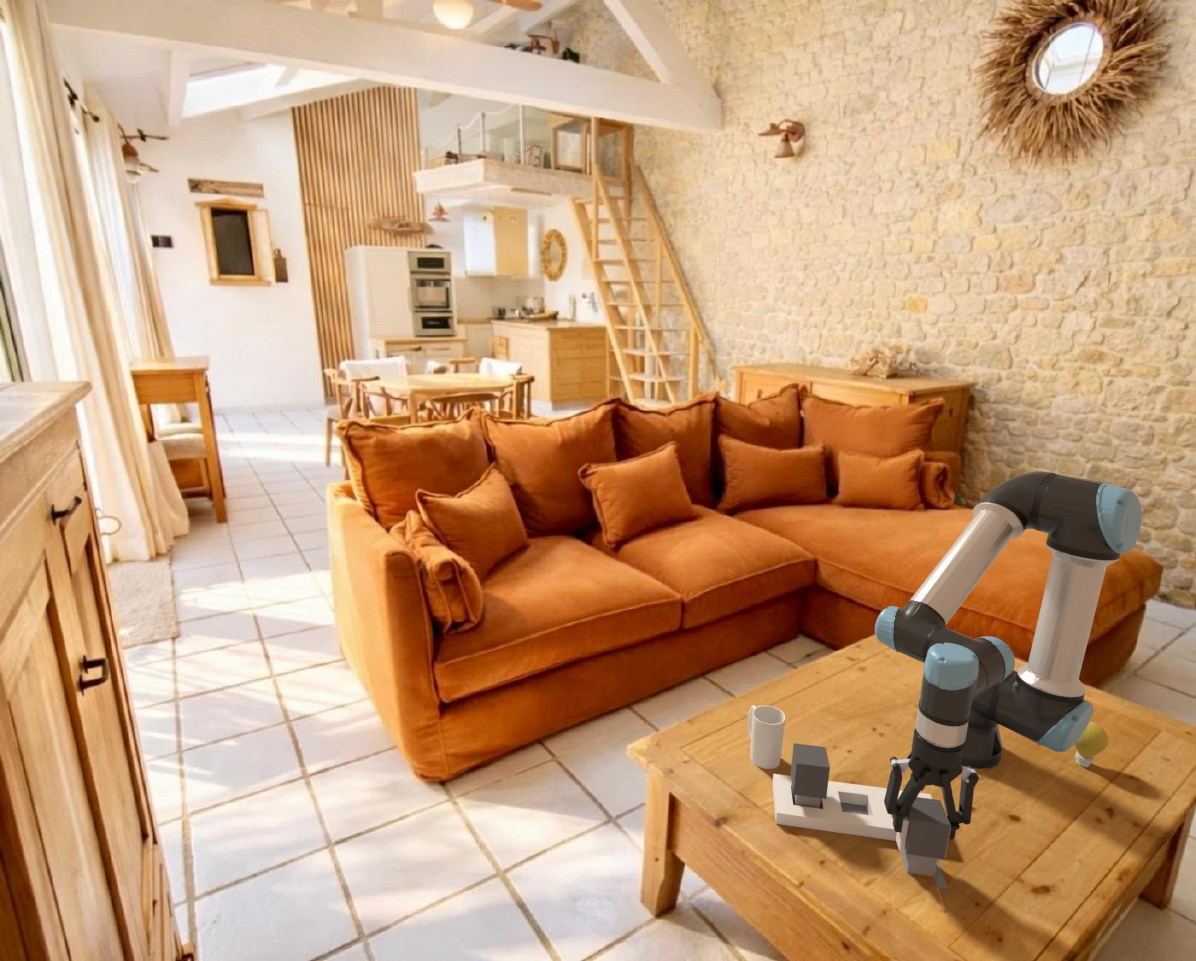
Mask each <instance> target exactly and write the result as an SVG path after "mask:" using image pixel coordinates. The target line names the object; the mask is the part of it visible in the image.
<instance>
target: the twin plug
mask: <svg viewBox="0 0 1196 961" xmlns="http://www.w3.org/2000/svg"><path fill="white" fill-rule="evenodd" d="M828 757H829V756H828V753H827V747H826V746H819V745H811V744H801V743H793V748H792V757H791V765H790V766H791V767H790V776H791V780H792V788H793V802H794V805H797V806H804V807H811V808H819V809H820V801H821V798H822V799H826V796H827V788H828V781H830V770H831V765H830V761H829V758H828Z"/></svg>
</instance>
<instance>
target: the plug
mask: <svg viewBox="0 0 1196 961" xmlns="http://www.w3.org/2000/svg"><path fill="white" fill-rule="evenodd" d="M907 817H908V820H909V823H908V830H907V836H906V842H905V849H904V852H900V854H901V856H902V859H903V863H904V864H903V865H904V866H905V870H906V873H907V874H910V875H919V876H925V877H930V878H931V877H932V878H933V879H934V876H935V870H936V865H937V860H946V857H945V854H946V855H947V851H946V849H947V850H948V846H947V843H948V844H949V840H948V838H949V832H950V827H951V825H950V822H949V820H948V818H947V812H946V809H945V808H944V806H943V803H942V801H941V799H935V798H934V799H933V798H932V799H928V798H921V797H917V798H916V799H915V801H914V803H913V804H912V806H911V808H910V809H909V811H908V813H907Z"/></svg>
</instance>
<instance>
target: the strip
mask: <svg viewBox="0 0 1196 961" xmlns="http://www.w3.org/2000/svg"><path fill="white" fill-rule="evenodd" d="M771 785H772V795H773V806H774V808H773V809H774V817H775V818H774V819H775V825H781V826H787V827H795V828H802V829H808V830H816V831H821V832H829V833H830V832H831V833H835V834H837V833H838V834H843V835H850V836H858V837H864V838H873V839H880V840H886V841H892V842H896V835H897V832H895V830H894V826H893V817H894V814H888V813H887V810H886V807H885V804H884V799H885V795H886V791H887V787H878V786H871V785H865V784H864V785H862V784H856V783H848V782H841V781H834V780H828V788H827V796H826V799H822V798H821V801H820V809H819V808H811V807H804V806H797V805H794V802H793V788H792V780H791V775H788V774H787V775H786V774H780V773H779V774H778V773H772V784H771ZM903 790H904V789H902V790H901V789H900V791H899V795H898V798H899V797H900V795H901V793H902V791H903ZM917 797H921V798H928V799H933V798H932V795H931V793H923V792H920V793H919V794H918V796H917ZM897 800H898V799H897Z"/></svg>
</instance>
